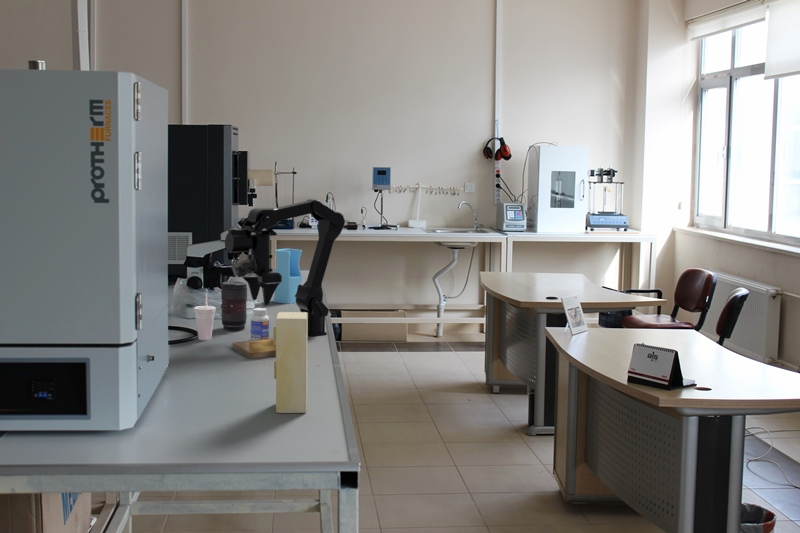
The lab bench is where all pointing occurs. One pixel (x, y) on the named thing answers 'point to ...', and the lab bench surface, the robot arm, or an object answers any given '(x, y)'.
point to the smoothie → (204, 320)
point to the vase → (288, 275)
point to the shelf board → (256, 348)
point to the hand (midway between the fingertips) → (260, 302)
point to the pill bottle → (259, 324)
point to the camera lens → (233, 305)
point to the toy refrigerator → (291, 361)
